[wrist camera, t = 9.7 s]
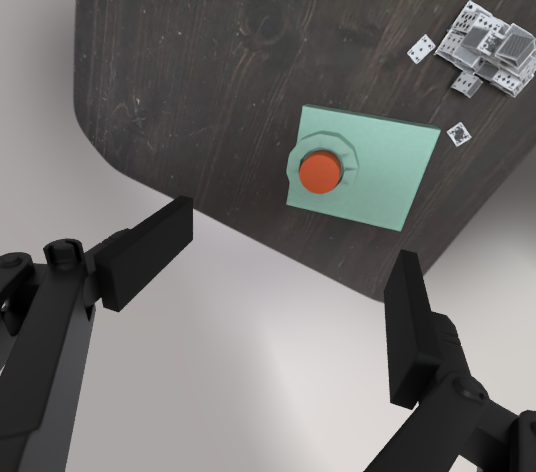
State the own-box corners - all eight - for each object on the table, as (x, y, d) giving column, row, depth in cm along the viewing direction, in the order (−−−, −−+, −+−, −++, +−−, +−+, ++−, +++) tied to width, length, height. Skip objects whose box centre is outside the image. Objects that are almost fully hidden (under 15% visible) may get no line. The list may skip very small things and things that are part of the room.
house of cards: (377, 98, 28) (379, 108, 22) (448, -11, 24) (477, -40, 17) (461, 149, 28) (488, 174, 22) (549, 49, 24) (616, 44, 17)
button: (299, 183, 30) (296, 189, 29) (306, 146, 29) (302, 151, 27) (335, 191, 30) (334, 198, 28) (345, 154, 28) (344, 159, 26)
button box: (288, 196, 35) (279, 210, 32) (304, 103, 30) (296, 107, 27) (398, 222, 33) (402, 240, 30) (436, 125, 28) (445, 134, 25)
